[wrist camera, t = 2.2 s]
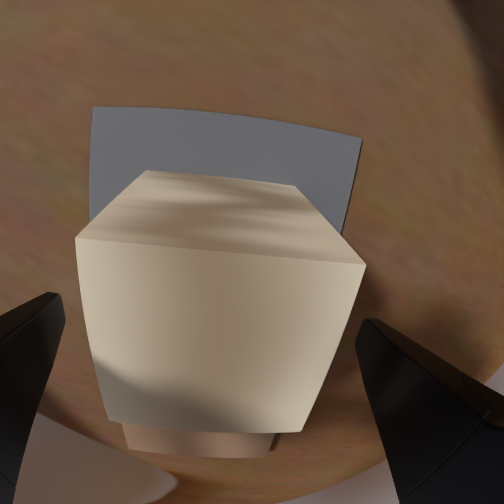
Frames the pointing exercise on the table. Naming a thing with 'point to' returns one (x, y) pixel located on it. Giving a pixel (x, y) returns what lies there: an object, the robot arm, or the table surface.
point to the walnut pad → (197, 442)
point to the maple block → (213, 302)
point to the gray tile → (219, 153)
